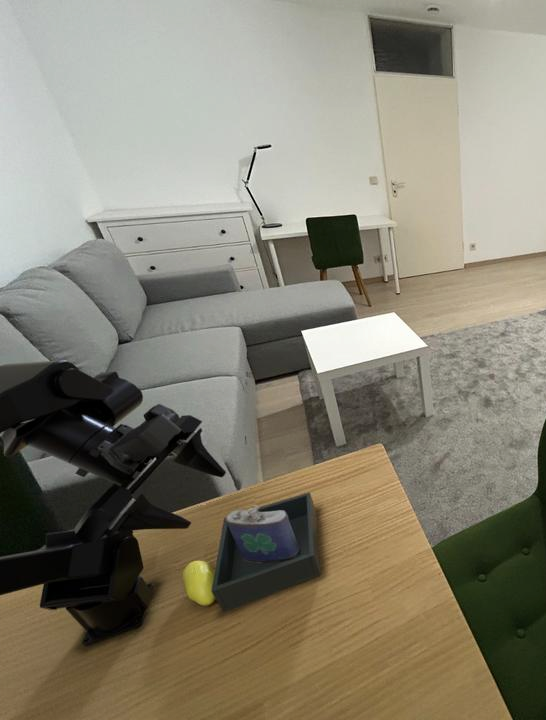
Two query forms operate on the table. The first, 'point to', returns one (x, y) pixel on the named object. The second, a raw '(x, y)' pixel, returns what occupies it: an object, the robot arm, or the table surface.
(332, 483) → the table surface
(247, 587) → the tray
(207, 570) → the yellow rounded oblong piece
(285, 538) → the flask
